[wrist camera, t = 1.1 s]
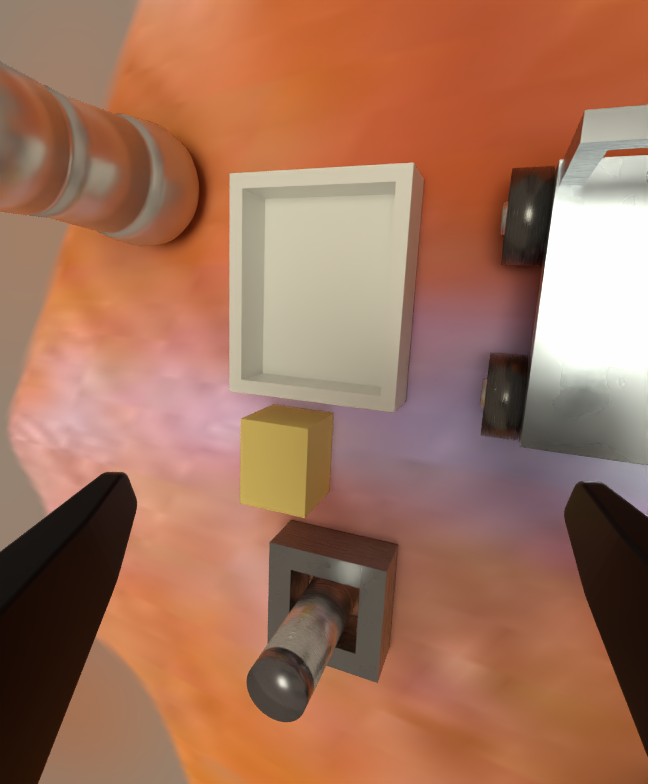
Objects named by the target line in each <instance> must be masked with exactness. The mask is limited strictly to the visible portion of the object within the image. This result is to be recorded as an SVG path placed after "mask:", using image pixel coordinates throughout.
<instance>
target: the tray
mask: <svg viewBox="0 0 648 784" xmlns="http://www.w3.org/2000/svg"><path fill="white" fill-rule="evenodd" d="M423 188H424V178H423V177H422V175H421V174H420V172H419V170H418V169H417V167H416V166H415V164H414V163H399V164H382V165H365V166H348V167H331V168H314V169H297V170H280V171H263V172H246V173H230V381H229V391H231V392H239V393H247V394H254V395H262V396H270V397H277V398H285V399H293V400H300V401H308V402H316V403H323V404H331V405H339V406H346V407H354V408H362V409H369V410H377V411H385V412H392V413H395V412H396V411H397V410H398V408H399V407H400V406H401V405H402V404H403V403H404V402H405V401H406V394H407V382H408V369H409V357H410V345H411V333H412V321H413V309H414V297H415V285H416V273H417V261H418V248H419V236H420V224H421V212H422V200H423Z"/></svg>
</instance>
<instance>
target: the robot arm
mask: <svg viewBox="0 0 648 784" xmlns="http://www.w3.org/2000/svg"><path fill="white" fill-rule="evenodd" d="M136 510H137V499H136V496H135V493H134V491H133V488H132V486H131V483H130V480H129V478H128V476H127V475H126V474H125V473H123V472H105V473H103V474H101V475H100V476H98V477H97V478H96V479H95V480H93V481H92V482H91V483H89V484H88V485H87V486H85V487H84V488H83V489H82V490H80V491H79V492H78V493H76V494H75V495H74V496H72V497H71V498H70V499H68V500H67V501H66V502H65V503H63V504H62V505H61V506H59V507H58V508H57V509H55V510H54V511H53V512H51V513H50V514H49V515H48V516H46V517H45V518H44V519H42V520H41V521H40V522H38V523H37V524H36V525H35V526H33V527H32V528H31V529H29V530H28V531H27V532H26V533H24V534H23V535H21V536H20V537H19V538H18V539H17V540H15V541H14V542H12V543H11V544H10V545H8V546H7V547H6V548H5V549H3V550H2V551H1V552H0V784H38V782H39V780H40V777H41V774H42V772H43V770H44V767H45V765H46V762H47V759H48V757H49V754H50V752H51V749H52V747H53V744H54V742H55V739H56V736H57V734H58V731H59V729H60V726H61V723H62V721H63V718H64V716H65V713H66V711H67V708H68V706H69V703H70V700H71V698H72V695H73V693H74V690H75V688H76V685H77V682H78V680H79V677H80V675H81V672H82V670H83V667H84V665H85V662H86V659H87V657H88V654H89V652H90V649H91V647H92V644H93V642H94V639H95V637H96V634H97V631H98V629H99V626H100V624H101V621H102V619H103V616H104V613H105V611H106V608H107V606H108V603H109V601H110V598H111V596H112V593H113V590H114V588H115V585H116V582H117V579H118V576H119V572H120V569H121V565H122V562H123V558H124V554H125V551H126V547H127V543H128V540H129V536H130V532H131V528H132V525H133V521H134V517H135V514H136ZM564 517H565V523H566V526H567V530H568V534H569V538H570V541H571V545H572V549H573V553H574V556H575V560H576V564H577V568H578V571H579V575H580V579H581V582H582V586H583V589H584V593H585V596H586V598H587V601H588V604H589V607H590V609H591V612H592V614H593V617H594V620H595V622H596V625H597V627H598V630H599V633H600V635H601V638H602V640H603V643H604V645H605V648H606V651H607V653H608V656H609V658H610V661H611V664H612V666H613V669H614V671H615V674H616V676H617V679H618V682H619V684H620V687H621V689H622V692H623V695H624V697H625V700H626V702H627V705H628V707H629V710H630V713H631V715H632V718H633V720H634V723H635V726H636V728H637V731H638V733H639V736H640V738H641V741H642V744H643V746H644V749H645V751H646V754H647V756H648V517H647V516H646V515H644V514H643V513H642V512H640V511H639V510H638V509H636V508H635V507H634V506H633V505H631V504H630V503H629V502H627V501H626V500H625V499H623V498H622V497H621V496H619V495H618V494H617V493H616V492H614V491H613V490H612V489H610V488H609V487H608V486H606V485H605V484H603V483H601V482H595V481H581V482H578V483H577V484H576V485H575V487H574V489H573V492H572V494H571V496H570V498H569V500H568V503H567V505H566V507H565V511H564Z"/></svg>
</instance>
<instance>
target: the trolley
mask: <svg viewBox="0 0 648 784" xmlns="http://www.w3.org/2000/svg"><path fill="white" fill-rule="evenodd" d="M635 148H648V105H639V106H627V107H616V108H604V109H593V110H585V111H584V114H583V116H582V118H581V121H580V123H579V125H578V128H577V130H576V132H575V135H574V137H573V139H572V142H571V144H570V146H569V149H568V151H567V153H566V155H565V158H564V160H560V161H559V163H558V166H557V168H556V170H555V166H547V167H527V168H513V169H512V176H511V184H510V192H509V200H508V201H504V204H503V212H502V220H501V230H500V235H504V243H503V252H502V262H501V265H535V266H540V264H541V261H542V258H543V264H542V272H541V279H540V286H539V294H538V301H537V308H536V316H535V323H534V330H533V337H532V345H531V352H530V359H529V367H528V355H516V354H503V353H491V355H490V362H489V370H488V377H487V380H486V379H483V384H482V391H481V400H480V408H483V409H484V411H483V419H482V428H481V436H488V437H495V438H502V439H510V440H518V437H519V442H520V447H524V448H531V449H538V450H545V451H552V452H559V453H566V454H573V455H580V456H587V457H594V458H601V459H608V460H615V461H622V462H629V463H636V464H643V465H648V155H640V156H622V157H604V158H603V156H604V155H605V153H606V152H607V151H608V150H618V149H635ZM544 249H545V250H544ZM543 253H544V257H543ZM527 373H528V374H527Z"/></svg>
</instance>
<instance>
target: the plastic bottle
mask: <svg viewBox="0 0 648 784" xmlns="http://www.w3.org/2000/svg"><path fill="white" fill-rule="evenodd" d="M198 201H199V180H198V176H197V172H196V168H195V165H194V162H193V160H192V157H191V155H190V154H189V152H188V151H187V149H186V147H185V146H184V145H183V144H182V143H181V142H180V141H179V140H178V139H176V138H175V137H174V136H173V135H171V134H170V133H169V132H168V131H167V130H165V129H164V128H162V127H161V126H159V125H158V124H155V123H152V122H149V121H146V120H142V119H139V118H136V117H132V116H129V115H123V114H114V113H112V112H109V111H106V110H103V109H100V108H98V107H95V106H92V105H89V104H87V103H84V102H81V101H78V100H75V99H73V98H70V97H67V96H65V95H63V94H61V93H59V92H57V91H55V90H53V89H52V88H50V87H48V86H46V85H42V84H41V83H39V82H38V81H36V80H34V79H33V78H31V77H29V76H27V75H25V74H23V73H21V72H19V71H18V70H16V69H14V68H12V67H10V66H8V65H7V64H4V63H3V62H1V61H0V212H5V213H13V214H22V215H30V216H38V217H46V218H51V219H55V220H59V221H62V222H66V223H69V224H73V225H76V226H80V227H84V228H87V229H91V230H95V231H97V232H99V233H102V234H104V235H106V236H108V237H111V238H113V239H116V240H119V241H122V242H125V243H128V244H131V245H137V246H147V245H158V244H165V243H167V242H169V241H172V240H173V239H175V238H176V237H178V236H179V235H180V234H181V233H182V232H183V231H184V229H185V228H186V227H187V226H188V225H189V223H190V222H191V220H192V219H193V217H194V214H195V212H196V209H197V205H198Z"/></svg>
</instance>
